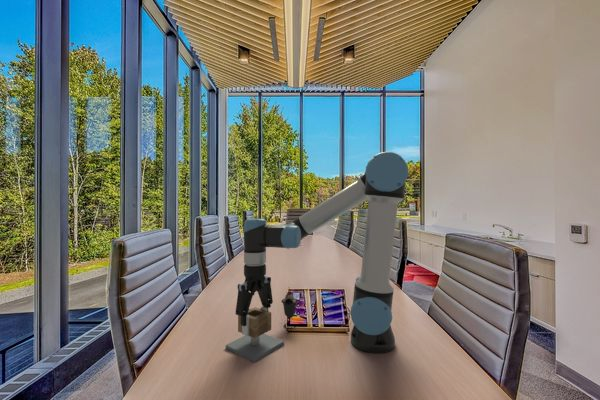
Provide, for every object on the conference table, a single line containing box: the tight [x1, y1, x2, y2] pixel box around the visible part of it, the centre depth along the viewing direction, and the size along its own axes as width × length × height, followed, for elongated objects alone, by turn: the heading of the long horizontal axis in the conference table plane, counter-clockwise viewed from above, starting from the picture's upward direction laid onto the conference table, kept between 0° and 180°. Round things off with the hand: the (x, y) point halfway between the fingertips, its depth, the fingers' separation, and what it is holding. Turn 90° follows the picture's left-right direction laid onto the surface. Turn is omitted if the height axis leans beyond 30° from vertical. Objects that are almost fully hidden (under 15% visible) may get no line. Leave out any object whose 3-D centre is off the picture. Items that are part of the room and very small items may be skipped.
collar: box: [237, 306, 272, 338], centre depth 102 cm, size 8×8×6 cm
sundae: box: [281, 287, 299, 329], centre depth 118 cm, size 7×7×15 cm
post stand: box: [225, 333, 285, 363], centre depth 102 cm, size 14×14×9 cm
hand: (255, 329), depth 102 cm, fingers closed on collar, 8 cm apart
